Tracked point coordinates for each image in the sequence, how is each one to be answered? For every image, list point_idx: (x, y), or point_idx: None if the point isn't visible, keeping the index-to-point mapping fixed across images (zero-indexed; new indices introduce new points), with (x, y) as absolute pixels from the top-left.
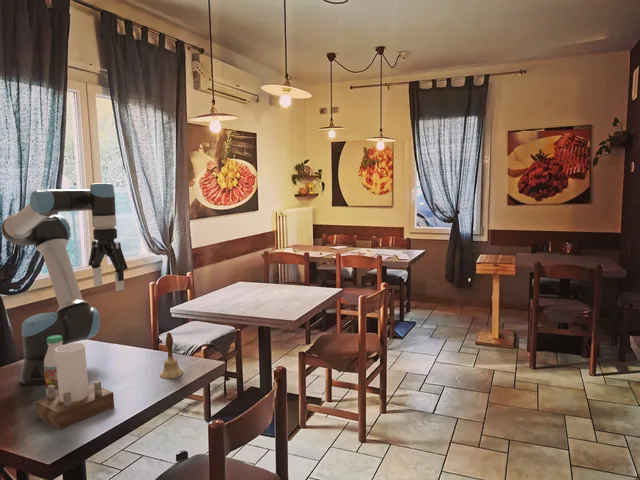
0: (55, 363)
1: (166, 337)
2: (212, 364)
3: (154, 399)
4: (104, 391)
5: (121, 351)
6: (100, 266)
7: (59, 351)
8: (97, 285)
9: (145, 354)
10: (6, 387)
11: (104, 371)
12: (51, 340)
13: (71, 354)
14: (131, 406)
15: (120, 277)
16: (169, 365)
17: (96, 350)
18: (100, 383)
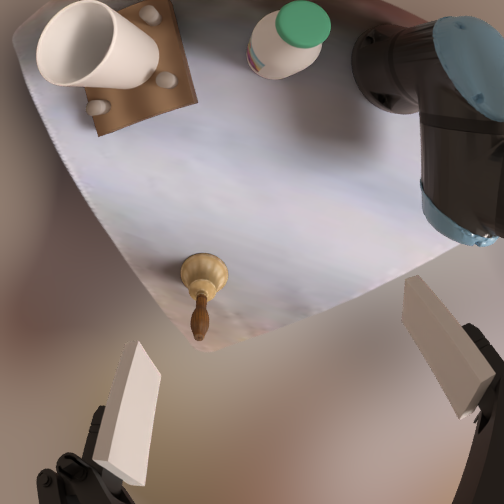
0: (254, 29)
1: (198, 324)
2: (203, 341)
3: (101, 206)
4: (113, 121)
5: (414, 244)
6: (476, 418)
7: (57, 14)
8: (406, 295)
9: (359, 274)
10: (387, 3)
11: (332, 173)
12: (281, 8)
13: (42, 48)
14: (96, 161)
15: (91, 429)
16: (190, 281)
17: None
18: (88, 113)
